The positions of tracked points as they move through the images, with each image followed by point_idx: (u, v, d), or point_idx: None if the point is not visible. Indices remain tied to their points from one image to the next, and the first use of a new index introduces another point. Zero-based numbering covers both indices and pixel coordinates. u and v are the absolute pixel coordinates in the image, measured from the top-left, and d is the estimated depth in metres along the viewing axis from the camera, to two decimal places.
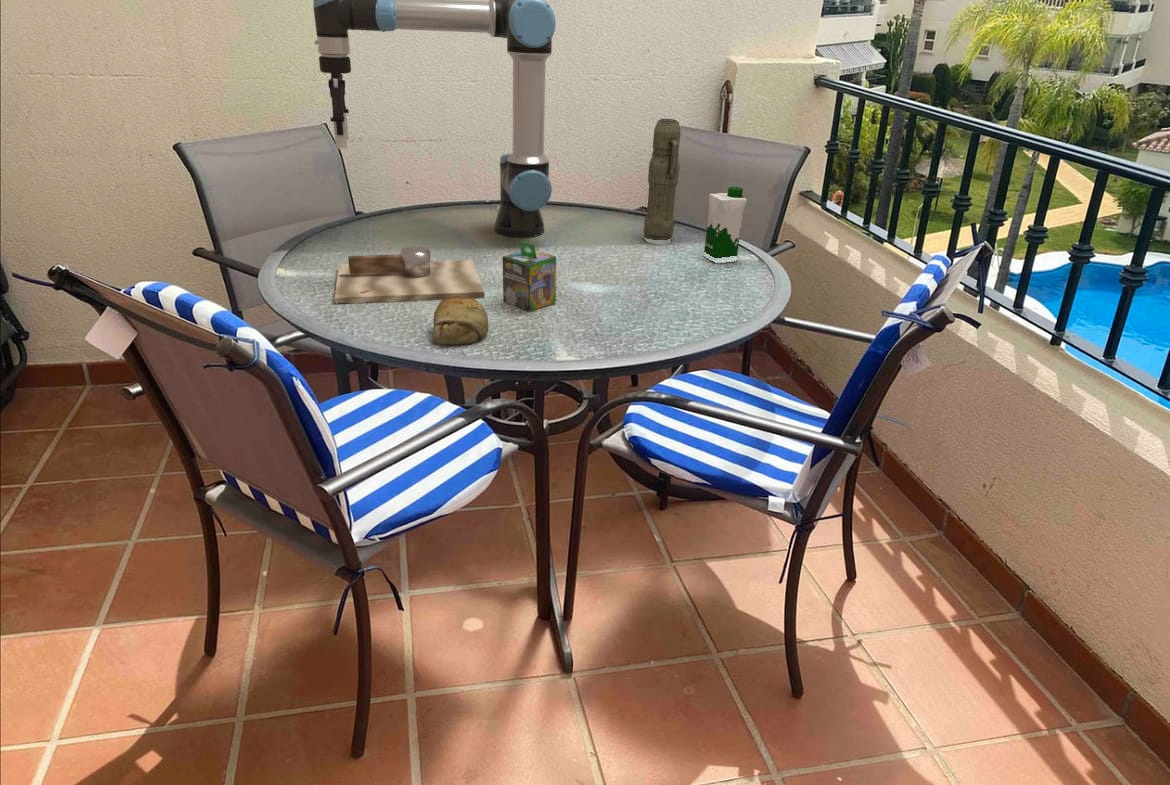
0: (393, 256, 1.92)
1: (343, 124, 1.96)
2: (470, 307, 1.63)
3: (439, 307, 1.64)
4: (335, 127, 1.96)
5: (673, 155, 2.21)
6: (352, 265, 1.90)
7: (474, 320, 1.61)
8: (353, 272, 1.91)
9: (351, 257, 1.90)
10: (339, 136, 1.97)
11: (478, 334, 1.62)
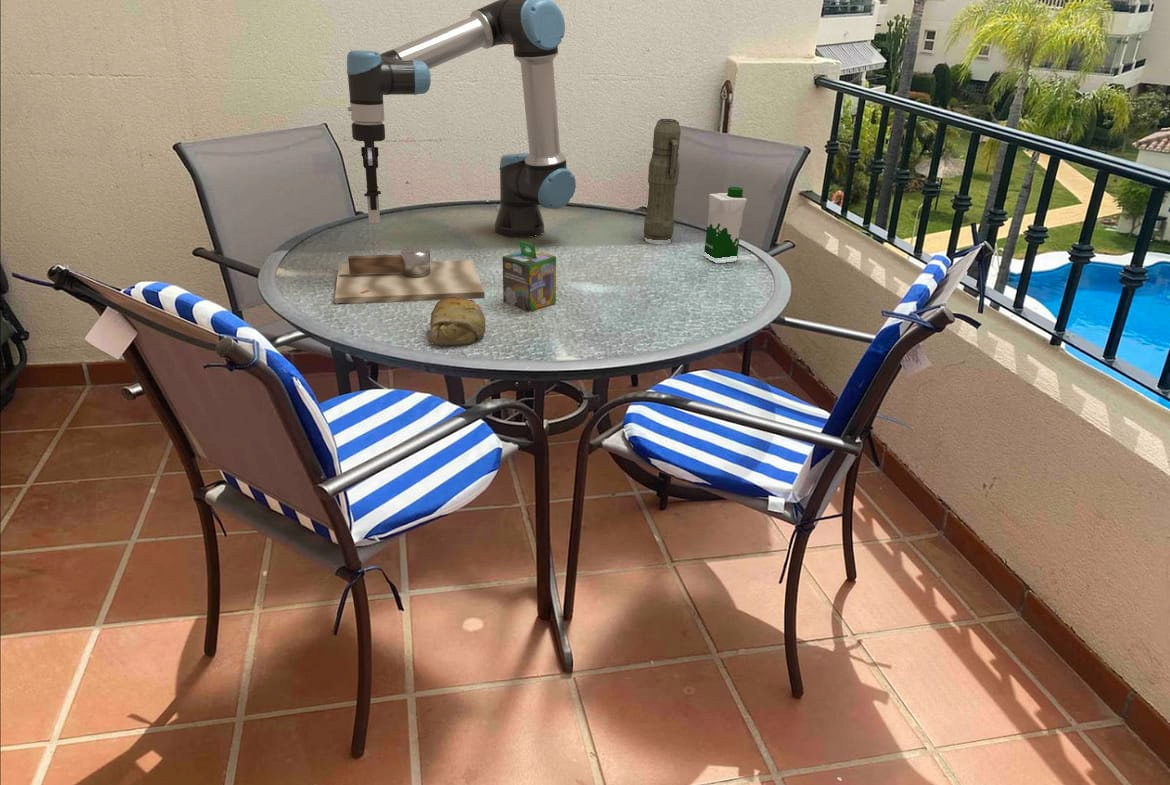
0: (393, 256, 1.92)
1: (377, 198, 1.91)
2: (467, 308, 1.62)
3: (436, 308, 1.64)
4: (368, 201, 1.91)
5: (673, 155, 2.21)
6: (352, 265, 1.90)
7: (471, 320, 1.61)
8: (353, 272, 1.91)
9: (351, 257, 1.90)
10: (372, 210, 1.92)
11: (475, 335, 1.62)
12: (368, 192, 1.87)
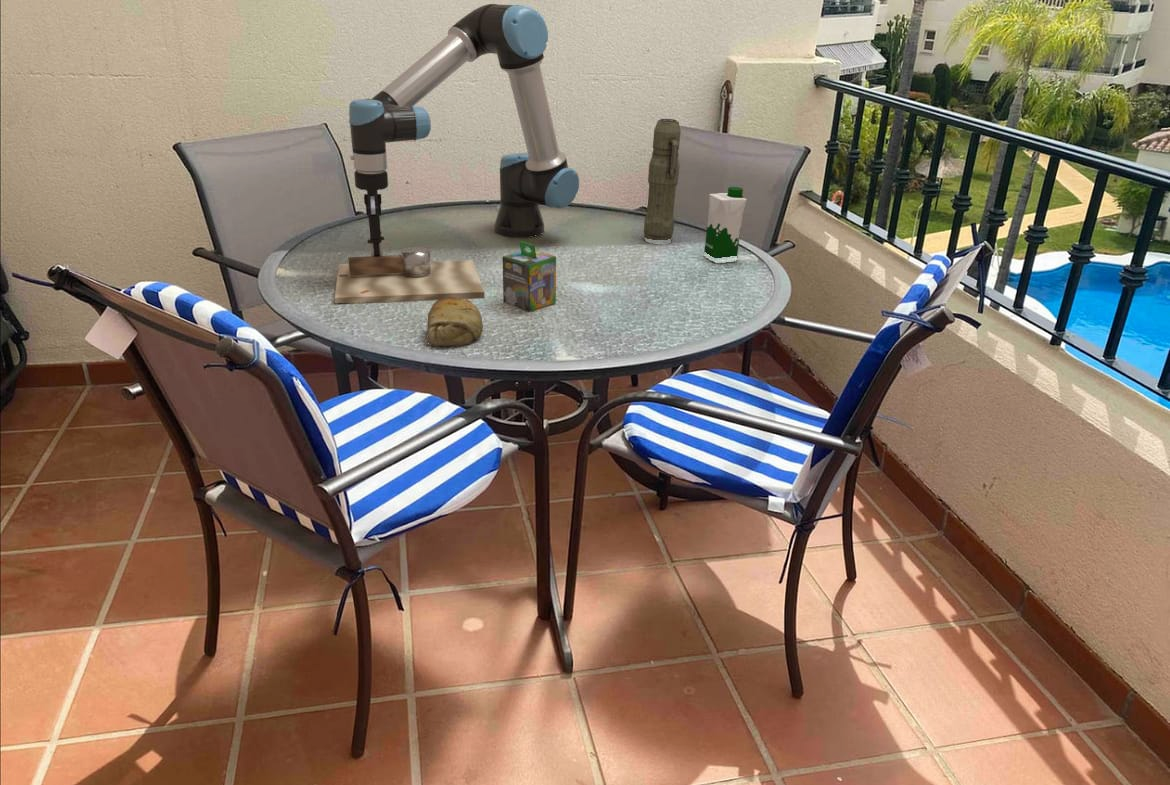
0: (393, 257, 1.92)
1: (380, 245, 1.91)
2: (464, 308, 1.62)
3: (433, 308, 1.63)
4: (372, 248, 1.91)
5: (673, 155, 2.21)
6: (352, 267, 1.89)
7: (469, 321, 1.61)
8: (353, 274, 1.90)
9: (351, 258, 1.89)
10: None
11: (472, 335, 1.61)
12: (371, 239, 1.87)
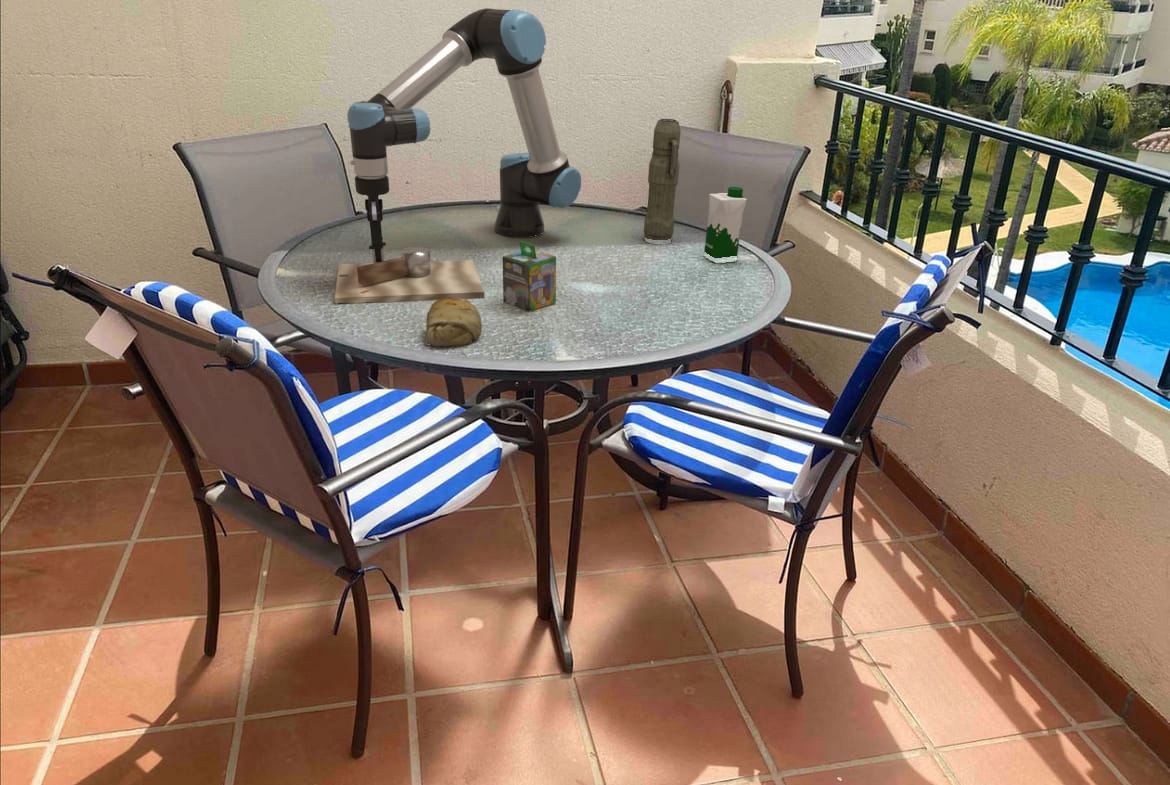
0: (398, 259, 1.90)
1: (382, 250, 1.87)
2: (463, 308, 1.62)
3: (432, 309, 1.63)
4: (373, 254, 1.87)
5: (673, 155, 2.21)
6: (365, 275, 1.84)
7: (468, 321, 1.61)
8: (366, 283, 1.85)
9: (362, 267, 1.83)
10: None
11: (471, 335, 1.61)
12: (373, 246, 1.83)
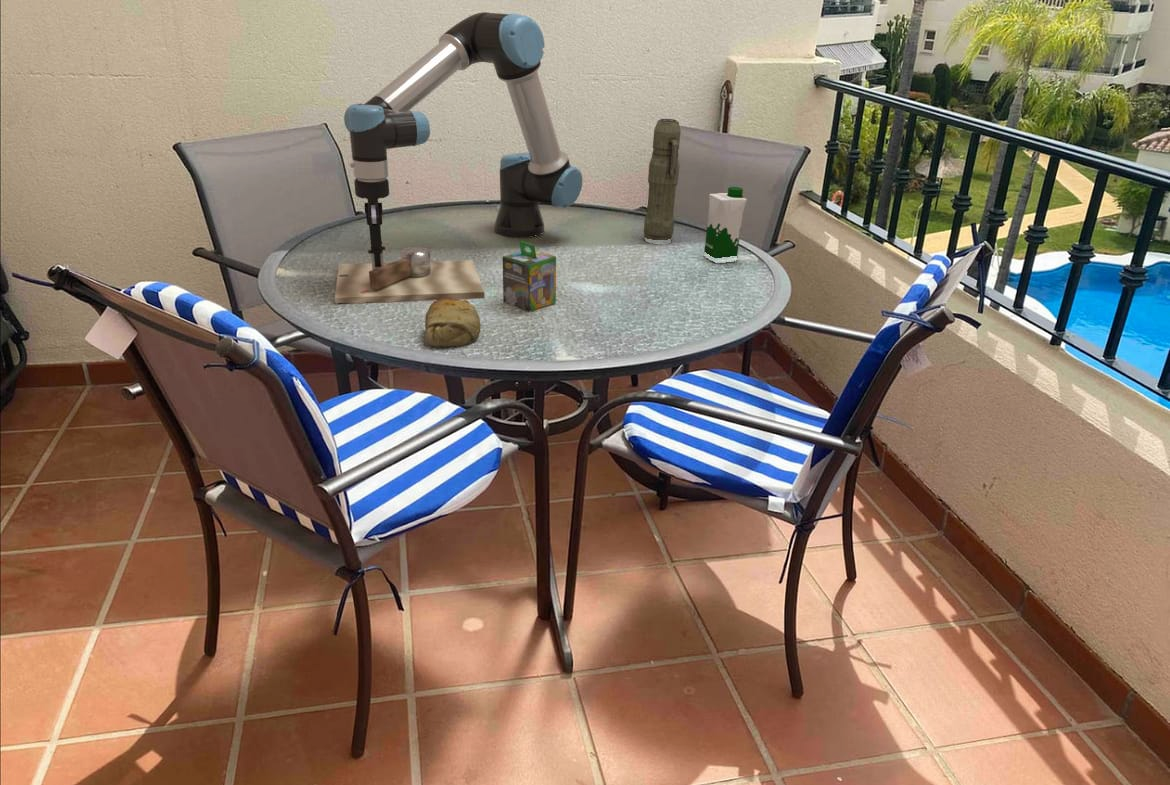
0: (403, 261, 1.89)
1: (381, 255, 1.84)
2: (462, 308, 1.62)
3: (431, 309, 1.63)
4: (373, 258, 1.84)
5: (673, 155, 2.21)
6: (378, 279, 1.82)
7: (466, 321, 1.60)
8: (379, 286, 1.83)
9: (375, 271, 1.81)
10: (377, 267, 1.85)
11: (470, 336, 1.61)
12: (372, 250, 1.80)
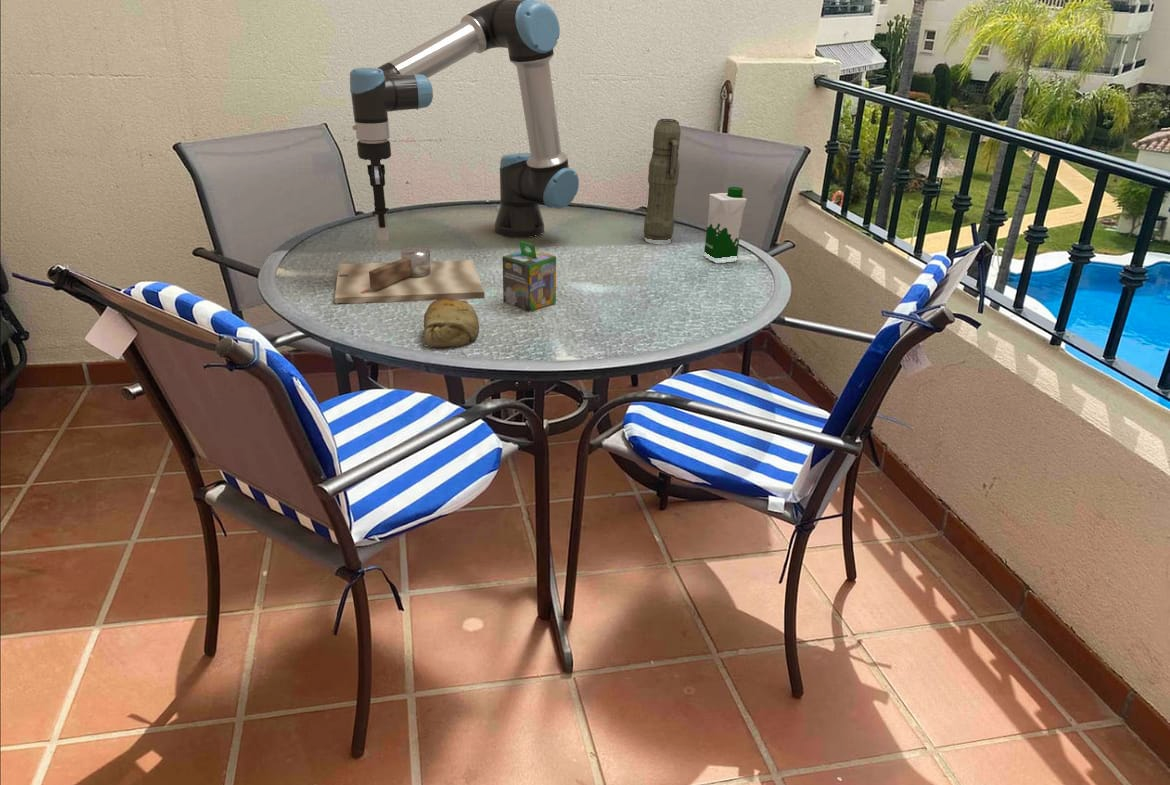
0: (403, 261, 1.89)
1: (385, 216, 1.90)
2: (461, 309, 1.62)
3: (429, 309, 1.63)
4: (377, 219, 1.90)
5: (673, 155, 2.21)
6: (378, 279, 1.82)
7: (465, 322, 1.60)
8: (379, 286, 1.83)
9: (375, 271, 1.81)
10: (381, 228, 1.91)
11: (469, 336, 1.61)
12: (376, 210, 1.86)
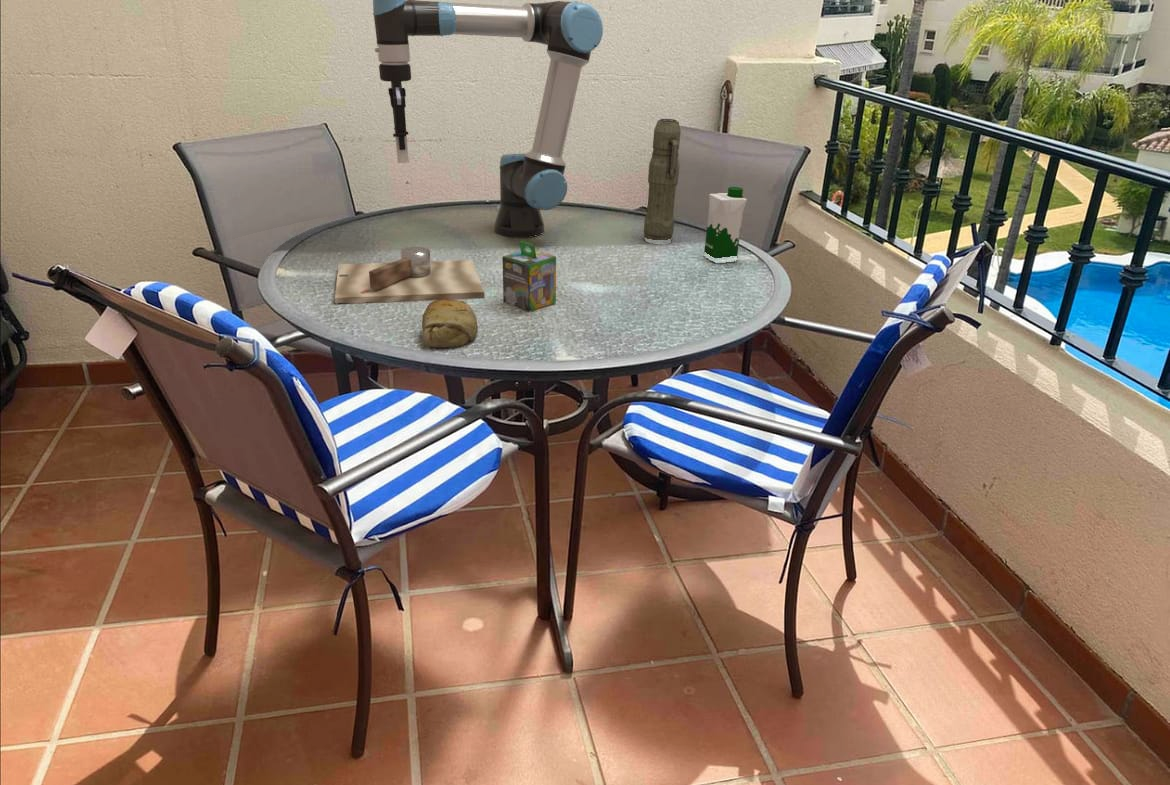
0: (403, 261, 1.89)
1: (405, 139, 1.98)
2: (459, 309, 1.61)
3: (428, 310, 1.62)
4: (397, 142, 1.98)
5: (673, 155, 2.21)
6: (378, 279, 1.82)
7: (464, 322, 1.60)
8: (379, 286, 1.83)
9: (375, 271, 1.81)
10: (401, 151, 1.99)
11: (468, 336, 1.61)
12: (397, 132, 1.94)
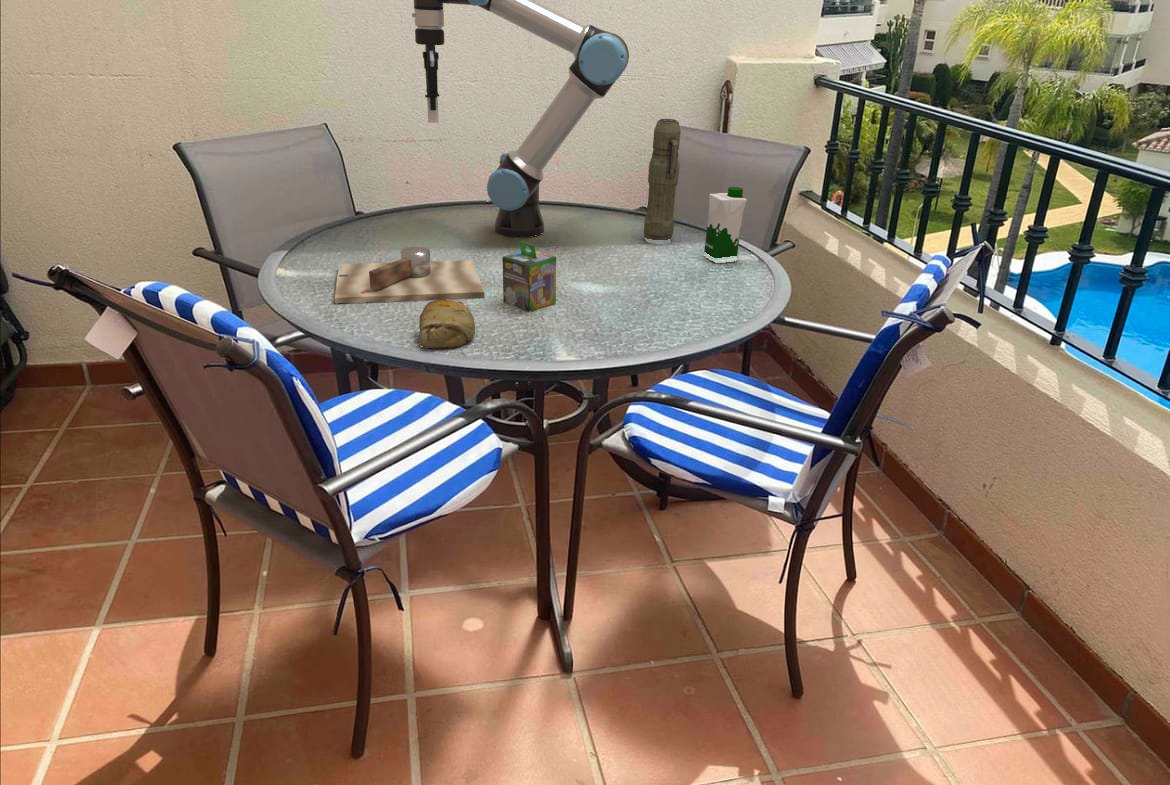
0: (403, 261, 1.89)
1: (436, 100, 2.13)
2: (457, 310, 1.61)
3: (425, 310, 1.62)
4: (428, 103, 2.12)
5: (673, 155, 2.21)
6: (378, 279, 1.82)
7: (461, 323, 1.60)
8: (379, 286, 1.83)
9: (375, 271, 1.81)
10: (432, 111, 2.14)
11: (465, 337, 1.60)
12: (429, 92, 2.09)
